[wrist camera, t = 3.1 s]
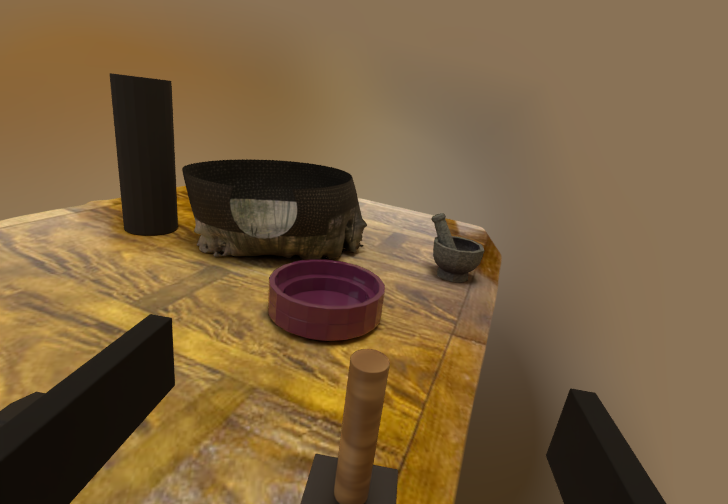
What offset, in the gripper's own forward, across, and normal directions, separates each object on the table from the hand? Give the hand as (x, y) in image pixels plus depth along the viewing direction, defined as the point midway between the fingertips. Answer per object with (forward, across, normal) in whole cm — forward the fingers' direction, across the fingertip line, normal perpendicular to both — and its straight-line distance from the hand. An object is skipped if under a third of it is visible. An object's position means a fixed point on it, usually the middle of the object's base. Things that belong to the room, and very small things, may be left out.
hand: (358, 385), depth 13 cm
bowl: (+42, -8, -21) cm, 48 cm away
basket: (+66, -24, -21) cm, 74 cm away
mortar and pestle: (+66, +12, -21) cm, 70 cm away
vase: (+66, -52, -22) cm, 87 cm away
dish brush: (+10, 0, -21) cm, 23 cm away
